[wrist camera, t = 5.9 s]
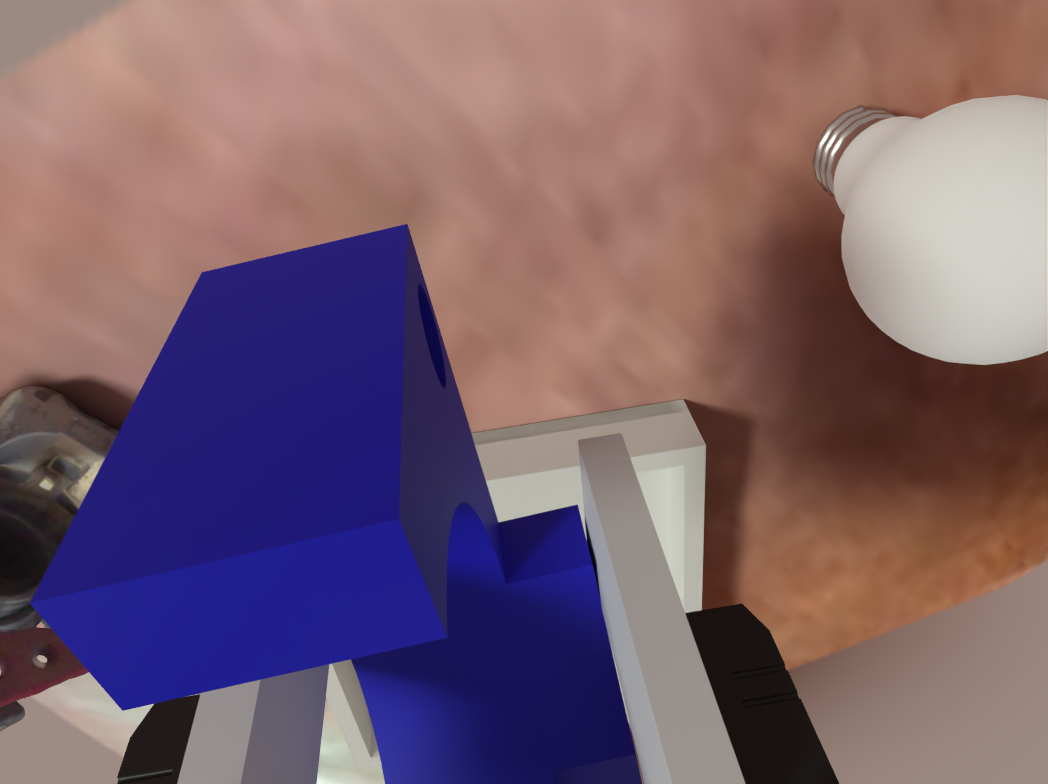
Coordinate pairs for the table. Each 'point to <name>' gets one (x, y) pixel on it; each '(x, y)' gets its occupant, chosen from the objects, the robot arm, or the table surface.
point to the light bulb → (946, 224)
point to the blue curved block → (338, 533)
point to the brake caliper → (38, 529)
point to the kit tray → (555, 482)
